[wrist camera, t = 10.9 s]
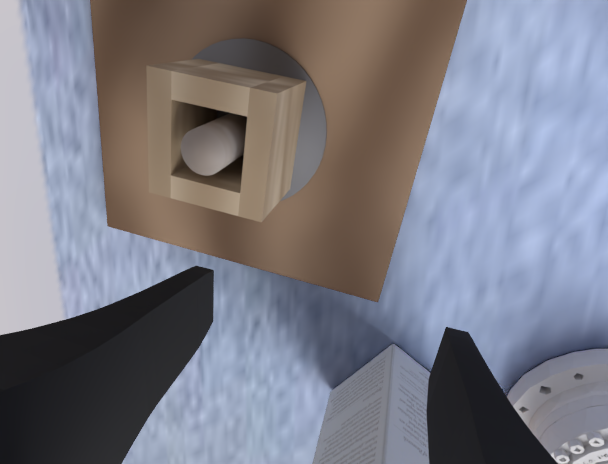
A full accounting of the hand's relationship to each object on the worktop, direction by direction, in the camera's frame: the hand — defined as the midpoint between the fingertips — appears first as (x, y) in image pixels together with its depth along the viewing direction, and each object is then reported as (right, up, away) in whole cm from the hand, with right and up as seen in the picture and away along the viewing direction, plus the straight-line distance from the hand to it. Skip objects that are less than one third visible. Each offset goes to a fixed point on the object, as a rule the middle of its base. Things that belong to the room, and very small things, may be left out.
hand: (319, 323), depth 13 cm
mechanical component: (+16, -7, +10) cm, 20 cm away
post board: (-3, +8, +8) cm, 12 cm away
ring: (-3, +8, +7) cm, 11 cm away
